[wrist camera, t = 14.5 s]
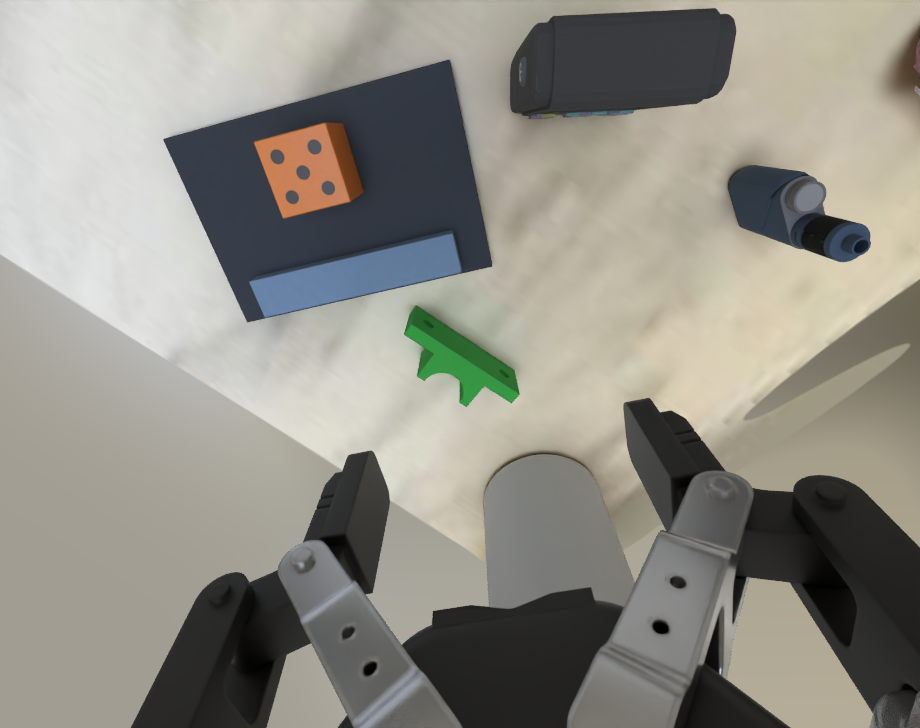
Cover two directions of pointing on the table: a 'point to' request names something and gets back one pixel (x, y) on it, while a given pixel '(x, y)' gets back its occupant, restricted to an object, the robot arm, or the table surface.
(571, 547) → the cylinder vase
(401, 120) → the bed mat
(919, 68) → the purple rounded lump
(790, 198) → the vaping device
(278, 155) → the die
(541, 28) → the dark grey rounded box
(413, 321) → the pipe clamp
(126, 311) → the table surface
